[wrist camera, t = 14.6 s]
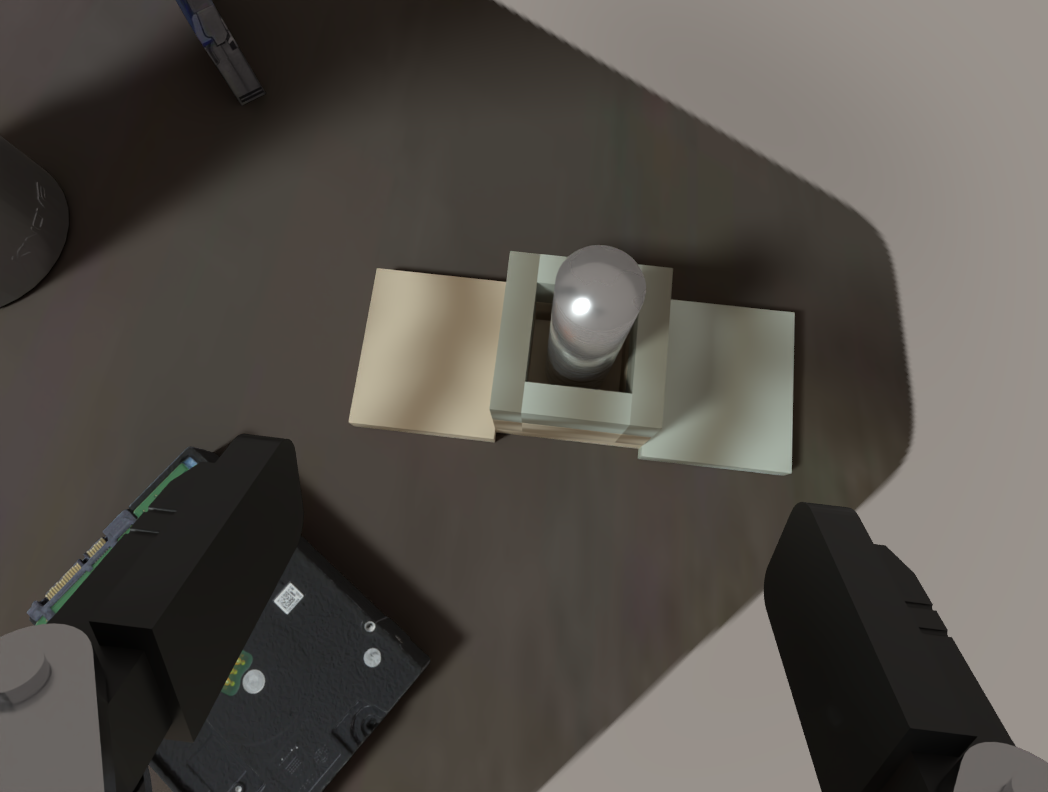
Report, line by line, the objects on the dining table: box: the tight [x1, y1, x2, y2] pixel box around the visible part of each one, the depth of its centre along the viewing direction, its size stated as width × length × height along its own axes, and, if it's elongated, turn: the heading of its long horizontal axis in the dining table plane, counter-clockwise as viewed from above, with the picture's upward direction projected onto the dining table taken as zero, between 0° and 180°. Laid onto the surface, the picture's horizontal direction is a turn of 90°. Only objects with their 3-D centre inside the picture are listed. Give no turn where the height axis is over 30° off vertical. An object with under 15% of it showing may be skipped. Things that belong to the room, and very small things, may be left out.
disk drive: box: [27, 447, 430, 792], centre depth 28 cm, size 10×3×15 cm
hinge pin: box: [545, 245, 646, 390], centre depth 25 cm, size 3×3×10 cm
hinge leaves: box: [349, 251, 795, 475], centre depth 29 cm, size 21×8×6 cm, turn 83°
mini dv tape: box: [176, 0, 266, 106], centre depth 33 cm, size 8×2×6 cm, turn 31°
